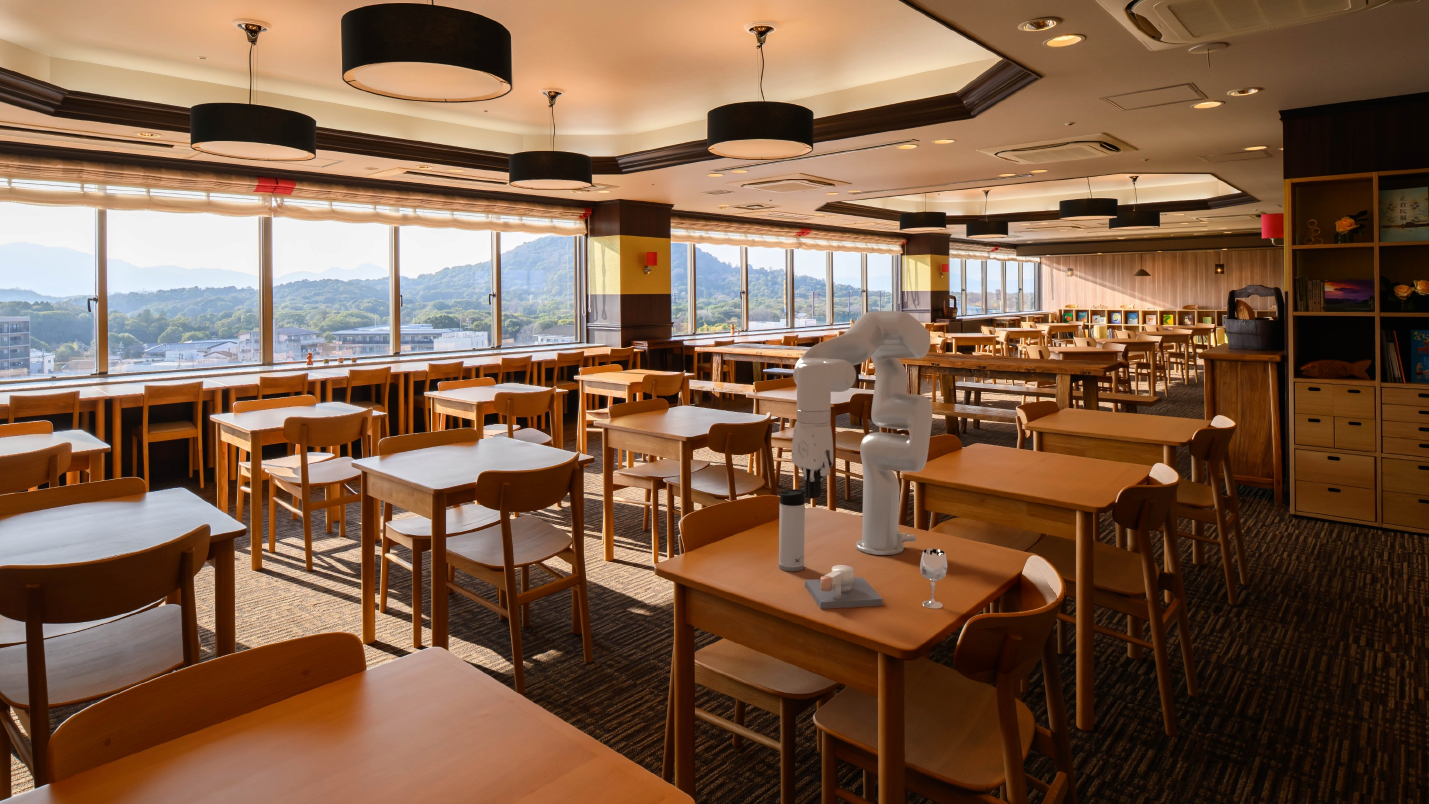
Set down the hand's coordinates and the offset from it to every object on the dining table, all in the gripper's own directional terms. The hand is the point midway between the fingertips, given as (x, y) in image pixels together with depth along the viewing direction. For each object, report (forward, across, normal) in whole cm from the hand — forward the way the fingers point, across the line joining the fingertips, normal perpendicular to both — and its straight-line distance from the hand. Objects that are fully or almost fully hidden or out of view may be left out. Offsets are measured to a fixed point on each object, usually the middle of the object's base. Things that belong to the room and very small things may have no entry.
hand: (812, 497), depth 178 cm
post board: (+22, +6, +4) cm, 23 cm away
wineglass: (+23, +20, +18) cm, 35 cm away
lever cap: (+19, +7, +2) cm, 20 cm away
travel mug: (+23, -16, +6) cm, 28 cm away
